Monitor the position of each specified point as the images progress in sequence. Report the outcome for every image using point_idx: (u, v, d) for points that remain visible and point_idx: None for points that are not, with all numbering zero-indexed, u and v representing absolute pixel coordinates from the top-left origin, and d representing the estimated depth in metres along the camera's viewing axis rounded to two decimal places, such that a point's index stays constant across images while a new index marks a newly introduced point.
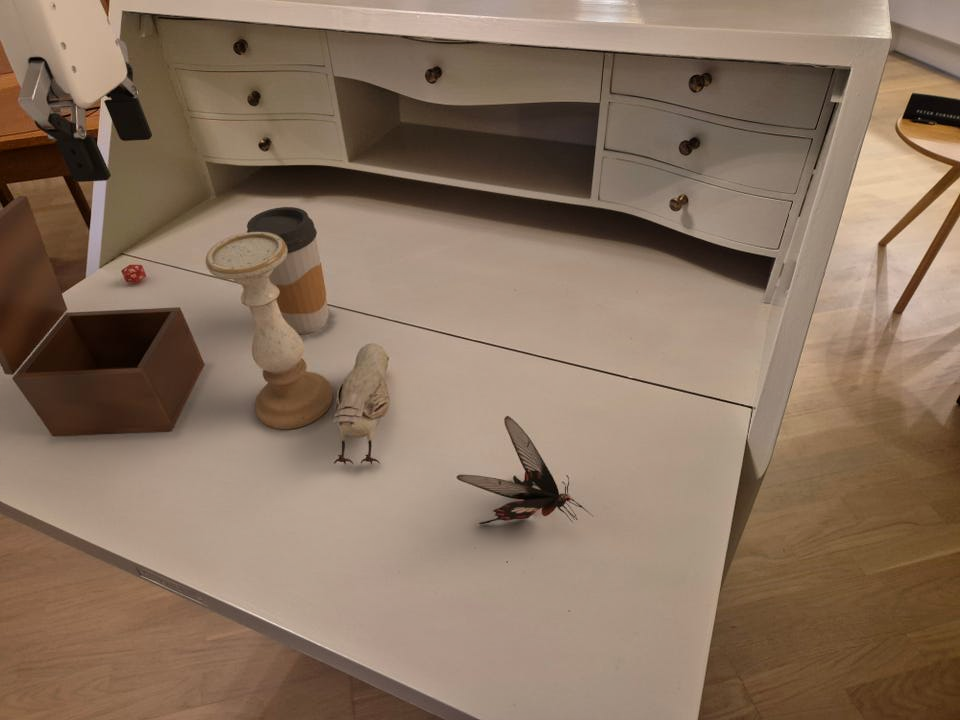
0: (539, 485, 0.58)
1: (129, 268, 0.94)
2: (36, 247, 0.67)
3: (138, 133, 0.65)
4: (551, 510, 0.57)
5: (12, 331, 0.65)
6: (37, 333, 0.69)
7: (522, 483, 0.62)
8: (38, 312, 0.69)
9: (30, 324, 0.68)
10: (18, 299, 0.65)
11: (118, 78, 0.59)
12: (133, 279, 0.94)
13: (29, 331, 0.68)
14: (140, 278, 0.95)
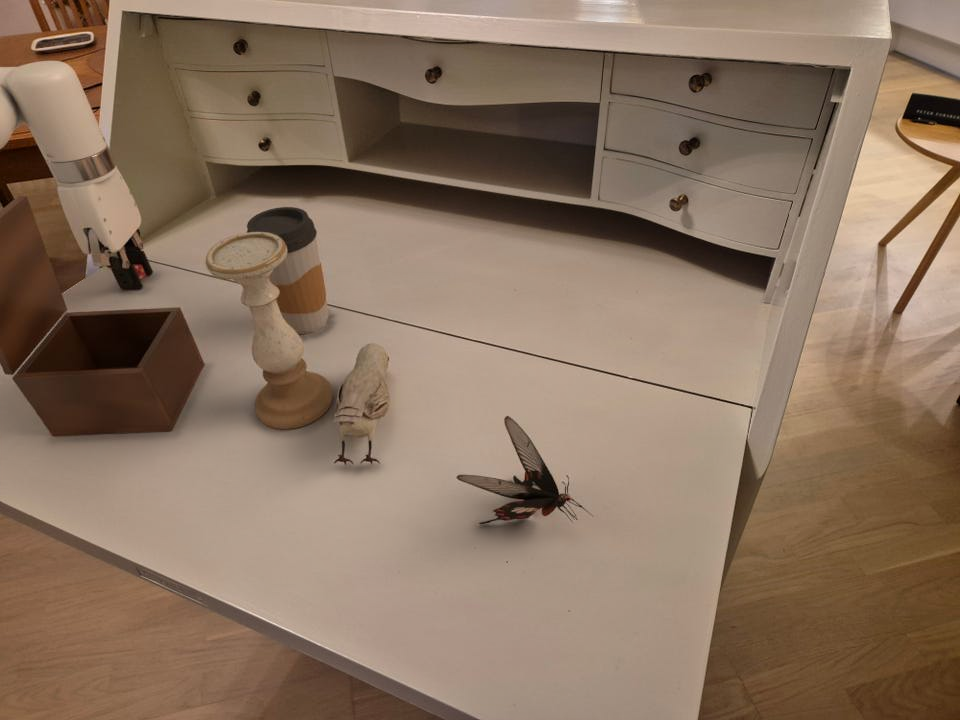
0: (539, 485, 0.58)
1: None
2: (36, 247, 0.67)
3: None
4: (551, 510, 0.57)
5: (12, 331, 0.65)
6: (37, 333, 0.69)
7: (522, 483, 0.62)
8: (38, 312, 0.69)
9: (30, 324, 0.68)
10: (18, 299, 0.65)
11: (136, 226, 0.92)
12: None
13: (29, 331, 0.68)
14: (140, 278, 0.95)
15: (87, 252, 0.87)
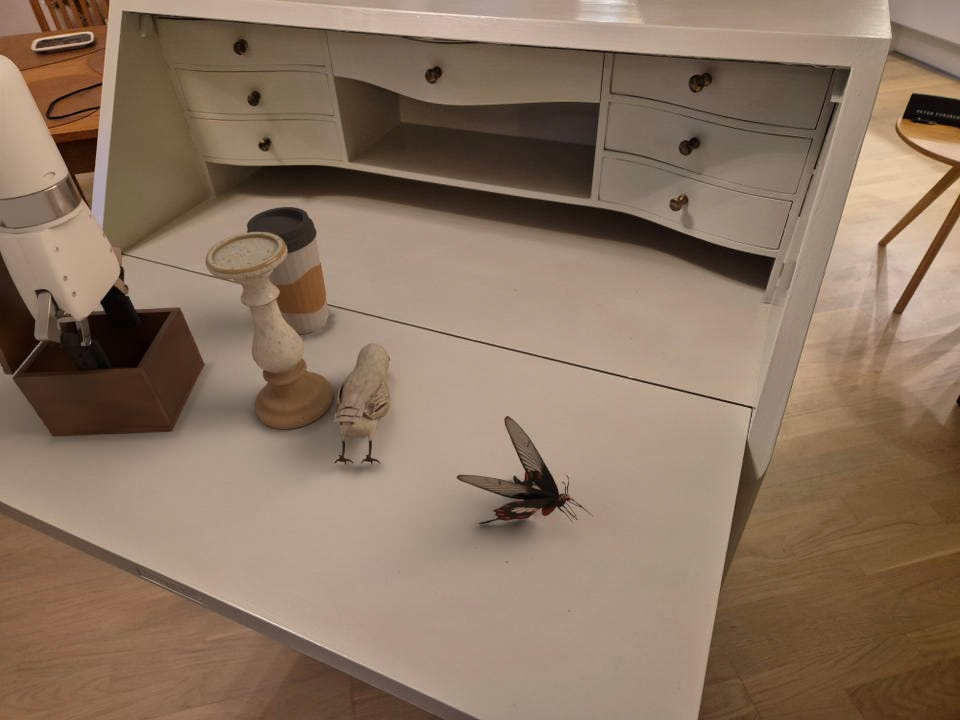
0: (539, 485, 0.58)
1: None
2: None
3: (129, 323, 0.73)
4: (551, 510, 0.57)
5: (12, 331, 0.65)
6: None
7: (522, 483, 0.62)
8: None
9: (30, 324, 0.68)
10: (18, 299, 0.65)
11: (112, 280, 0.68)
12: None
13: (29, 331, 0.68)
14: None
15: None
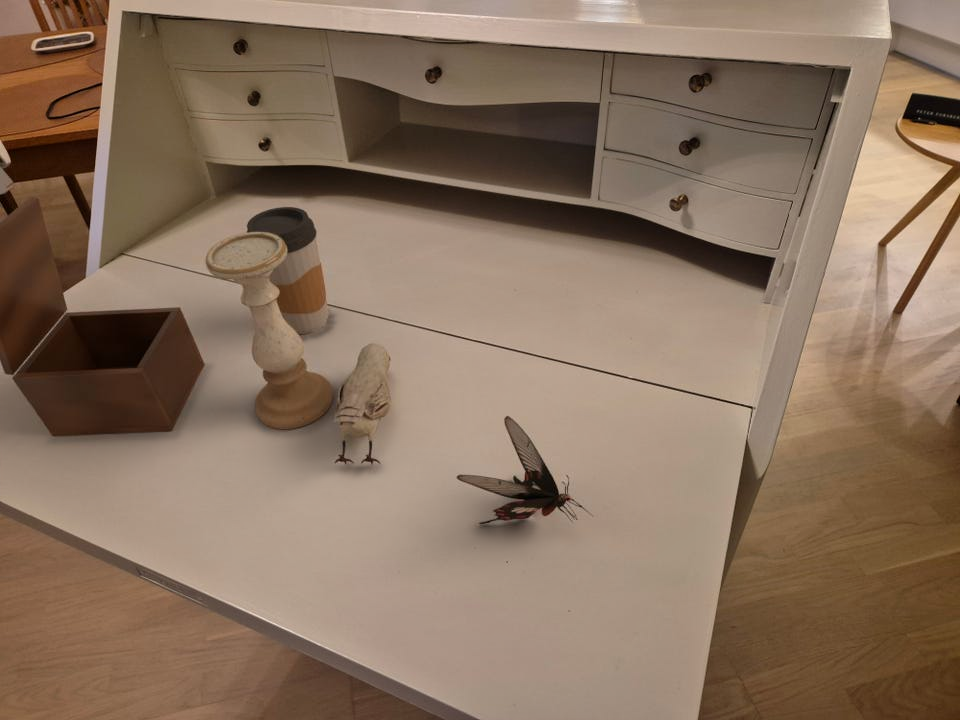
0: (539, 485, 0.58)
1: None
2: (43, 248, 0.68)
3: None
4: (551, 510, 0.57)
5: (15, 332, 0.65)
6: (38, 333, 0.69)
7: (522, 483, 0.62)
8: (40, 312, 0.69)
9: (32, 324, 0.68)
10: (23, 300, 0.65)
11: None
12: None
13: (31, 331, 0.68)
14: None
15: None
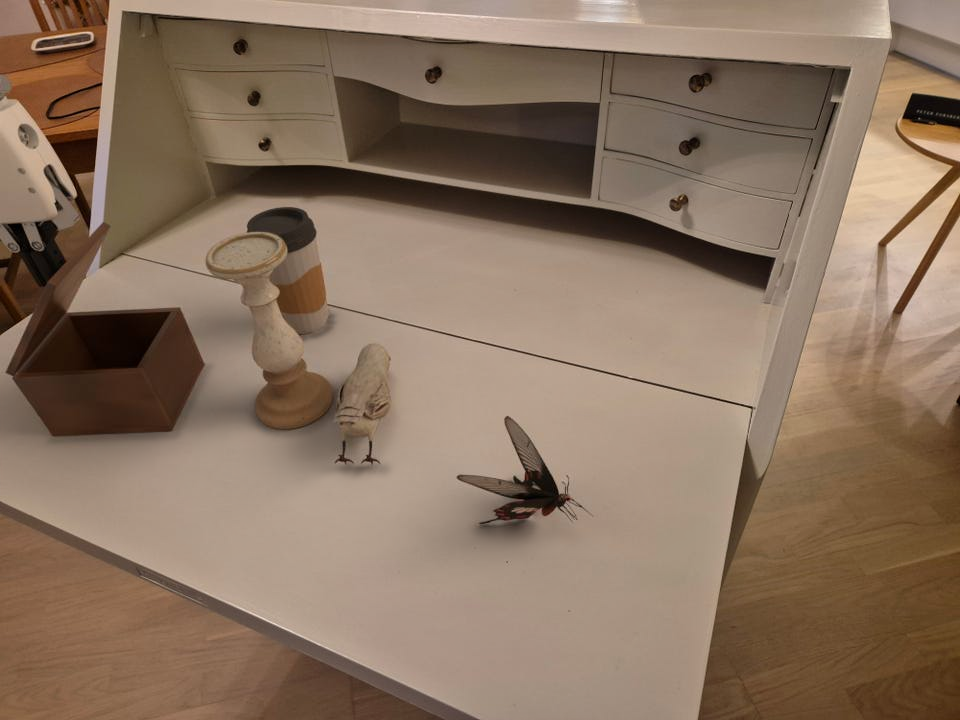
0: (539, 485, 0.58)
1: None
2: (88, 265, 0.69)
3: None
4: (551, 510, 0.57)
5: (36, 339, 0.65)
6: (44, 336, 0.69)
7: (522, 483, 0.62)
8: (55, 318, 0.69)
9: (46, 330, 0.68)
10: (55, 311, 0.66)
11: (25, 217, 0.58)
12: None
13: (42, 336, 0.68)
14: None
15: None
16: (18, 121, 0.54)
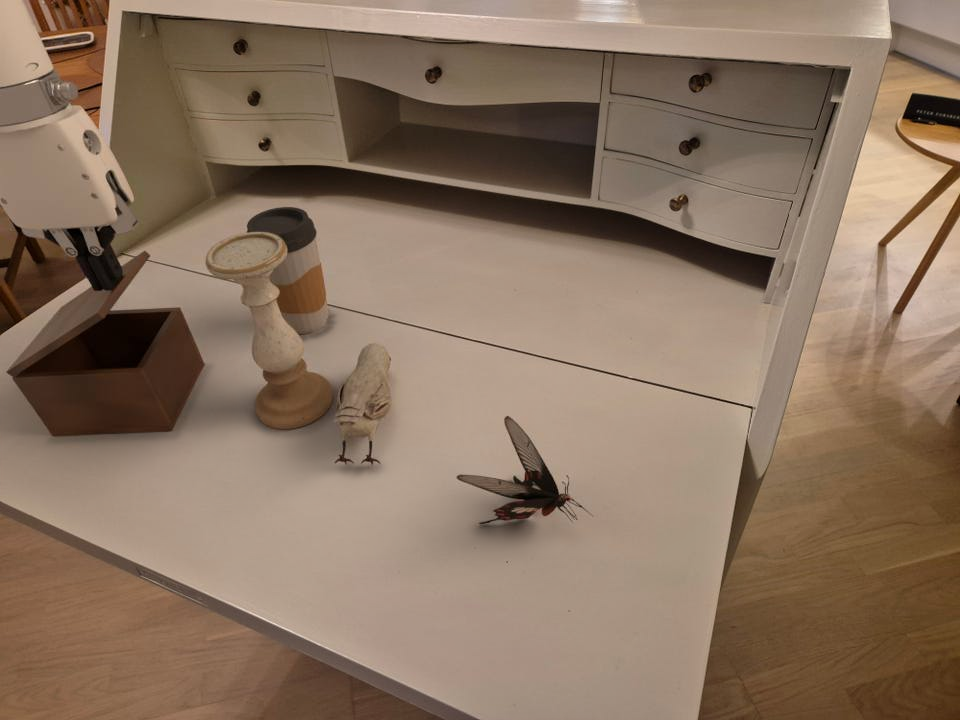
0: (539, 485, 0.58)
1: None
2: None
3: None
4: (551, 510, 0.57)
5: None
6: None
7: (522, 483, 0.62)
8: None
9: None
10: None
11: (86, 222, 0.58)
12: None
13: None
14: None
15: None
16: (82, 127, 0.55)
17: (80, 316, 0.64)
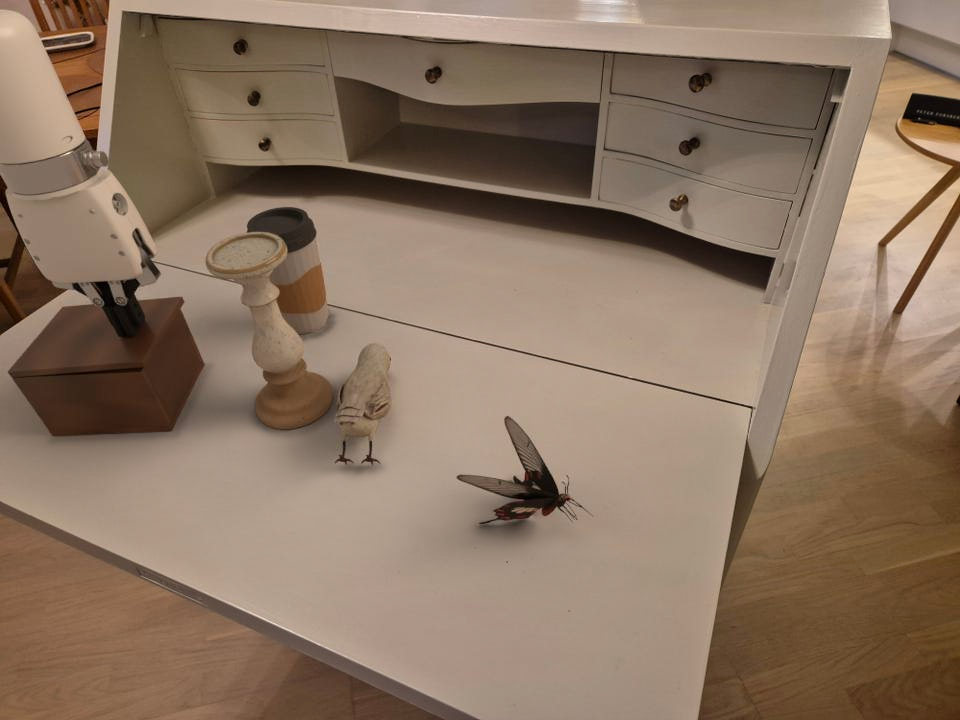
0: (539, 485, 0.58)
1: None
2: None
3: None
4: (551, 510, 0.57)
5: None
6: None
7: (522, 483, 0.62)
8: None
9: None
10: None
11: (113, 276, 0.62)
12: None
13: None
14: None
15: None
16: (111, 191, 0.59)
17: (112, 349, 0.66)
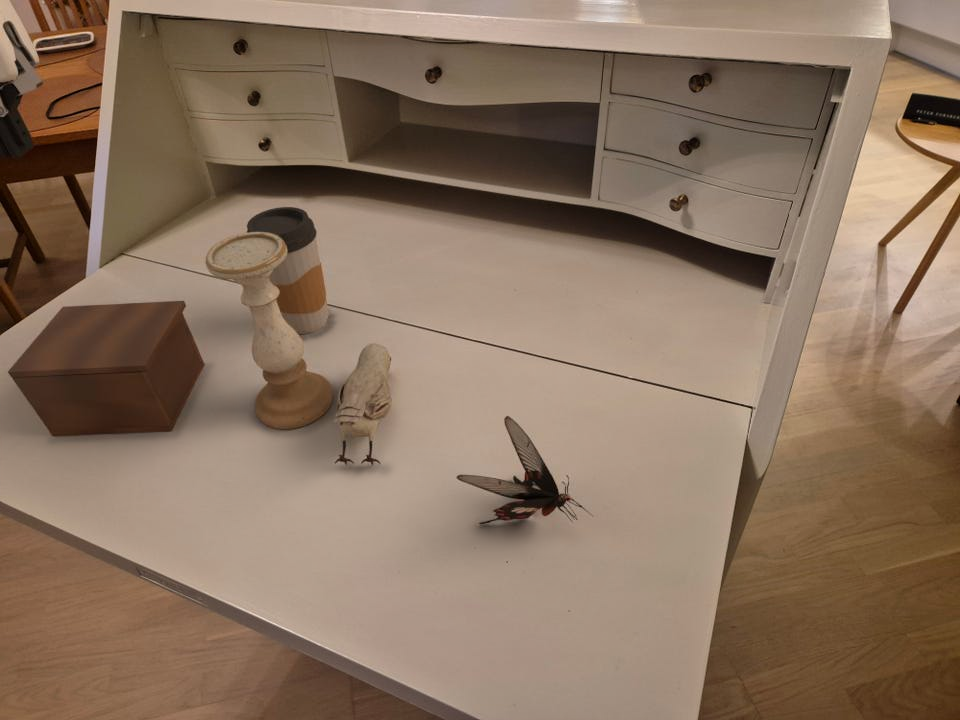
0: (539, 485, 0.58)
1: None
2: None
3: None
4: (551, 510, 0.57)
5: None
6: None
7: (522, 483, 0.62)
8: None
9: None
10: None
11: None
12: None
13: None
14: None
15: None
16: None
17: (114, 352, 0.67)
